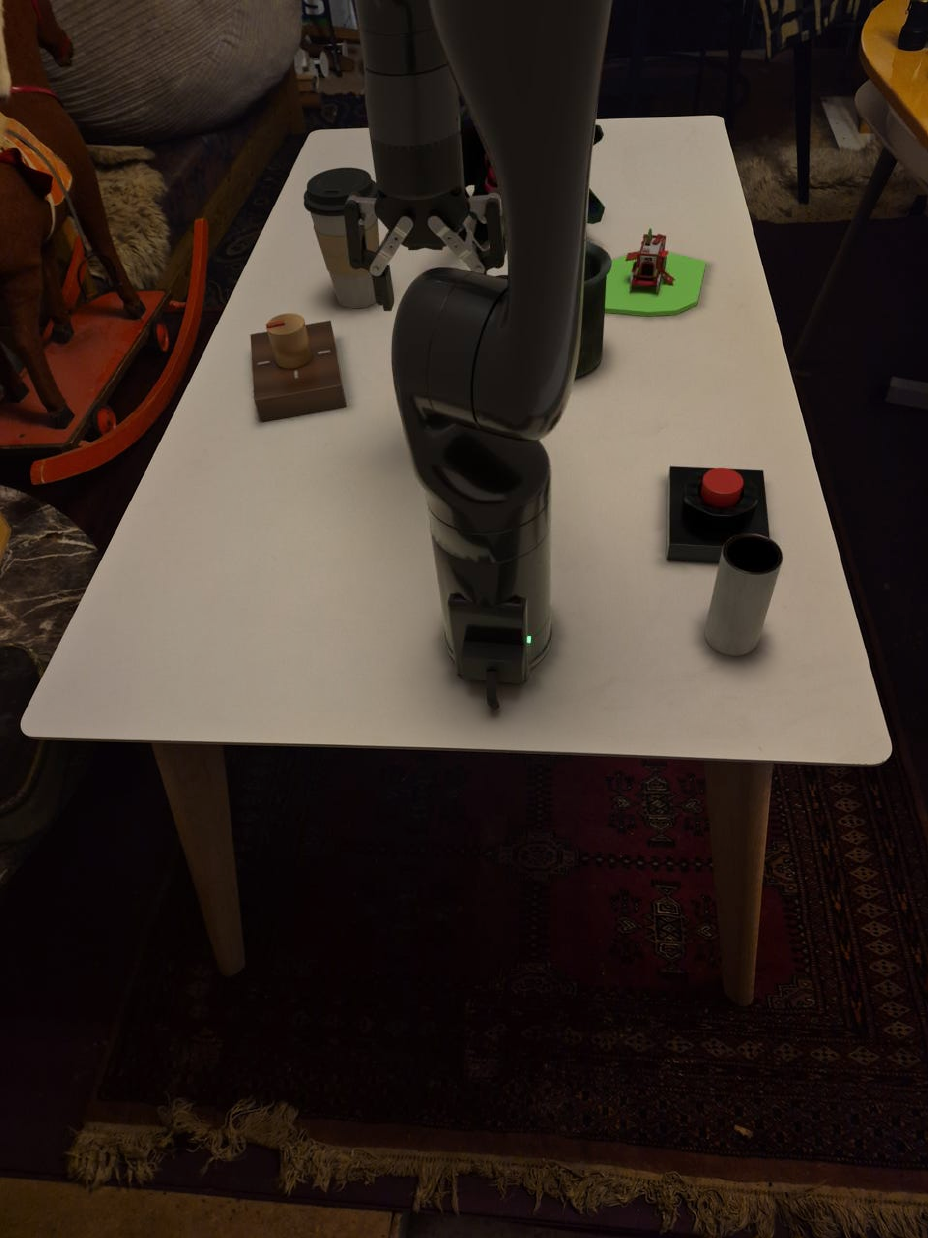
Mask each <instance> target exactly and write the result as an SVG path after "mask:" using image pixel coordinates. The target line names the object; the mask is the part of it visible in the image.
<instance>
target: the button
mask: <svg viewBox="0 0 928 1238" xmlns="http://www.w3.org/2000/svg"><path fill="white" fill-rule="evenodd" d="M714 468H715V469H712V470H709V471H708V472H707V473H706V474H705V475H704V477H703V481H702V487H701V497H702V499H703V500H704V501H705V502H706V503H708V504H711V505H713V506H715V507H729V506H732V505H734V504H736V503H737V502H738V501H739V499H740V495H741V491H742V487H743V479H742V477H741V475H740V474H739V473H737V472H736V471H734V470H731V469H732V468H727V467H714Z"/></svg>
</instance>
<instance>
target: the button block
mask: <svg viewBox="0 0 928 1238" xmlns="http://www.w3.org/2000/svg"><path fill="white" fill-rule="evenodd" d="M668 468H669V469H668V475H667V476H668V477H667V480H666V481H667V482H666V495H667V496H666V561H671V562H686V563H688V562H689V563H703V564H704V563H705V564H719V562H720V558H721V553H722V549H723V546H724V544H725V543H726V541H727V540H728V539H730V538H731V537H733V536H735V535H738V534H743V533H755V534H760V535H763V536H766V537H768V538H770V539H771V536H770V535H771V534H770V525H769V524H770V523H769V516H768V515H769V513H768V504H767V503H768V502H767V494H766V484H765V473H764V470H763V469H748V468H730V469H731V470H734V471H736V472H737V473H739V474H740V475H741V477H742V479H743V487H742V491H741V495H740V499H739V501H738V502H737V503H736V504H734V505H732V506H729V507H715V506H713V505H711V504H708V503H706V502H705V501H704V500H703V499H702V497H701V487H702V481H703V477H704V475H705V474H706V473H707V472H708V471H709V470H712V469H715V468H716V467H701V466H698V467H697V466H681V465H680V466H678V465H670V466H669V467H668Z"/></svg>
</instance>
